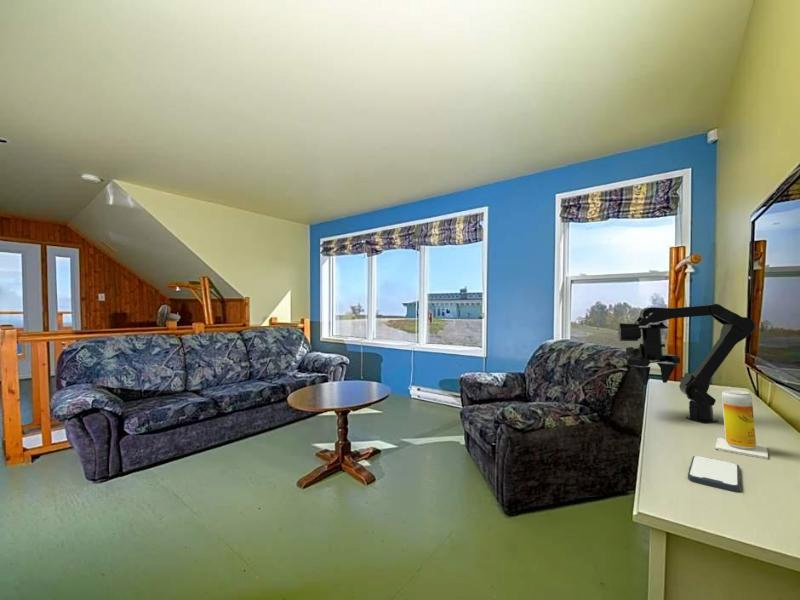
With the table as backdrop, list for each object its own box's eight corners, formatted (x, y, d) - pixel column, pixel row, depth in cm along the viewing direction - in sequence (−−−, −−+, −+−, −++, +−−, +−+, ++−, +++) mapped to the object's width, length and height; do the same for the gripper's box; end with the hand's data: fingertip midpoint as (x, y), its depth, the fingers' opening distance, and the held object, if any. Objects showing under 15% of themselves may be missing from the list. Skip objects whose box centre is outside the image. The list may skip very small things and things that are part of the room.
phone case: (692, 460, 91) (686, 482, 79) (692, 454, 91) (686, 474, 79) (740, 470, 84) (741, 495, 73) (739, 463, 85) (740, 487, 73)
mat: (717, 439, 103) (717, 437, 103) (766, 447, 95) (766, 445, 95) (715, 449, 96) (715, 447, 96) (768, 459, 88) (767, 456, 88)
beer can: (757, 452, 91) (752, 395, 92) (725, 447, 96) (721, 392, 96) (755, 445, 96) (750, 391, 97) (725, 440, 100) (721, 388, 101)
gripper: (650, 338, 137) (653, 378, 136) (613, 341, 132) (615, 382, 132) (679, 340, 126) (683, 383, 126) (639, 343, 122) (642, 387, 121)
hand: (654, 383), depth 126 cm, fingers open, 9 cm apart
